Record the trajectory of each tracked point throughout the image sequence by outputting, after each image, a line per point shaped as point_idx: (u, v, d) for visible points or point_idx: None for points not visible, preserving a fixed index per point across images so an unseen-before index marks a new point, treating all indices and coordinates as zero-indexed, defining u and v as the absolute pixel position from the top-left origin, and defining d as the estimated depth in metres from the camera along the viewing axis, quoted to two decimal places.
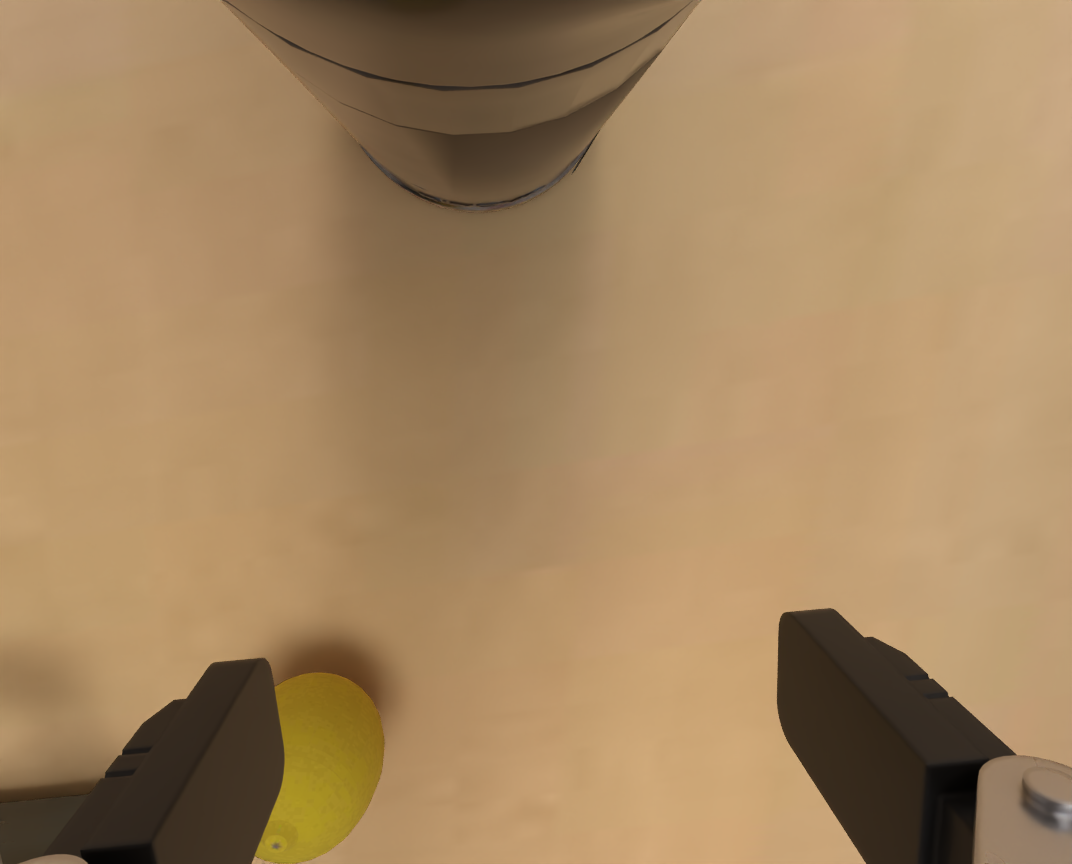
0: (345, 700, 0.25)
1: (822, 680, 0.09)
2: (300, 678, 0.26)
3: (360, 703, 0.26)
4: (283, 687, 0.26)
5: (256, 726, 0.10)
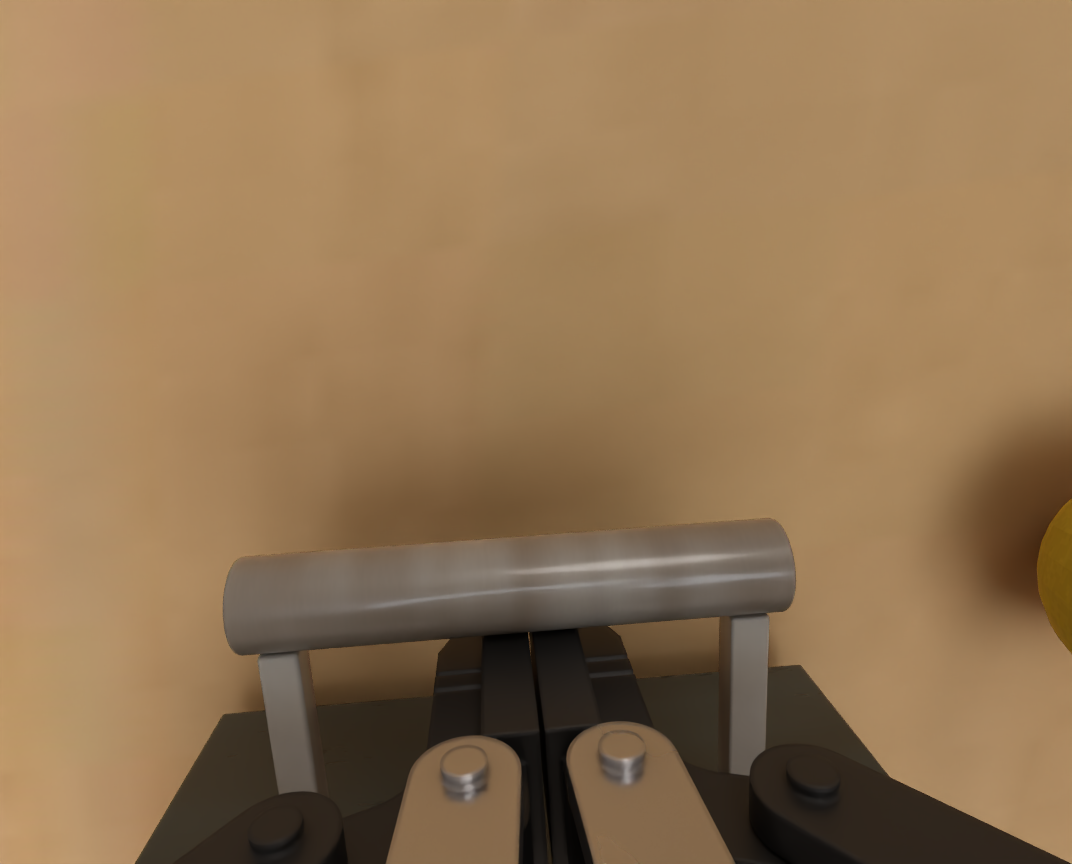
0: None
1: (533, 661, 0.10)
2: None
3: None
4: None
5: None
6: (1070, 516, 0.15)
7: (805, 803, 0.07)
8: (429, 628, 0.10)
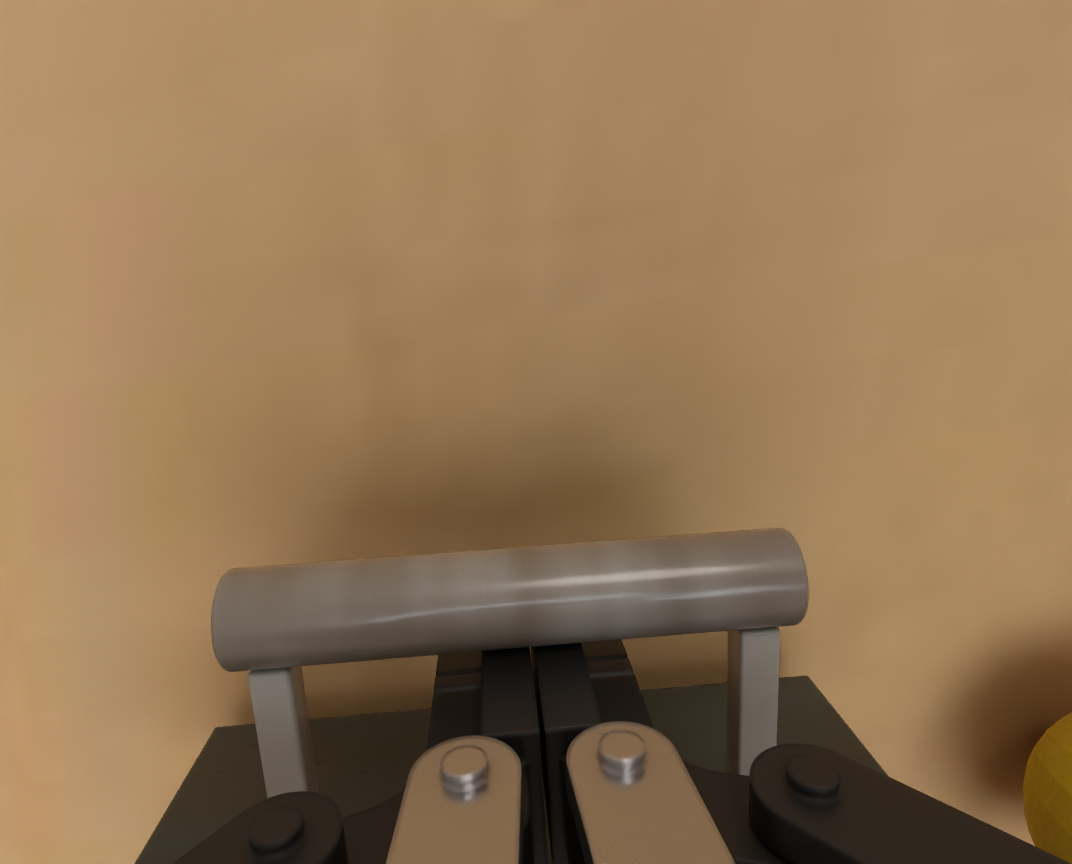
0: None
1: (533, 661, 0.10)
2: None
3: None
4: None
5: None
6: (1053, 754, 0.16)
7: (805, 803, 0.07)
8: (427, 643, 0.09)
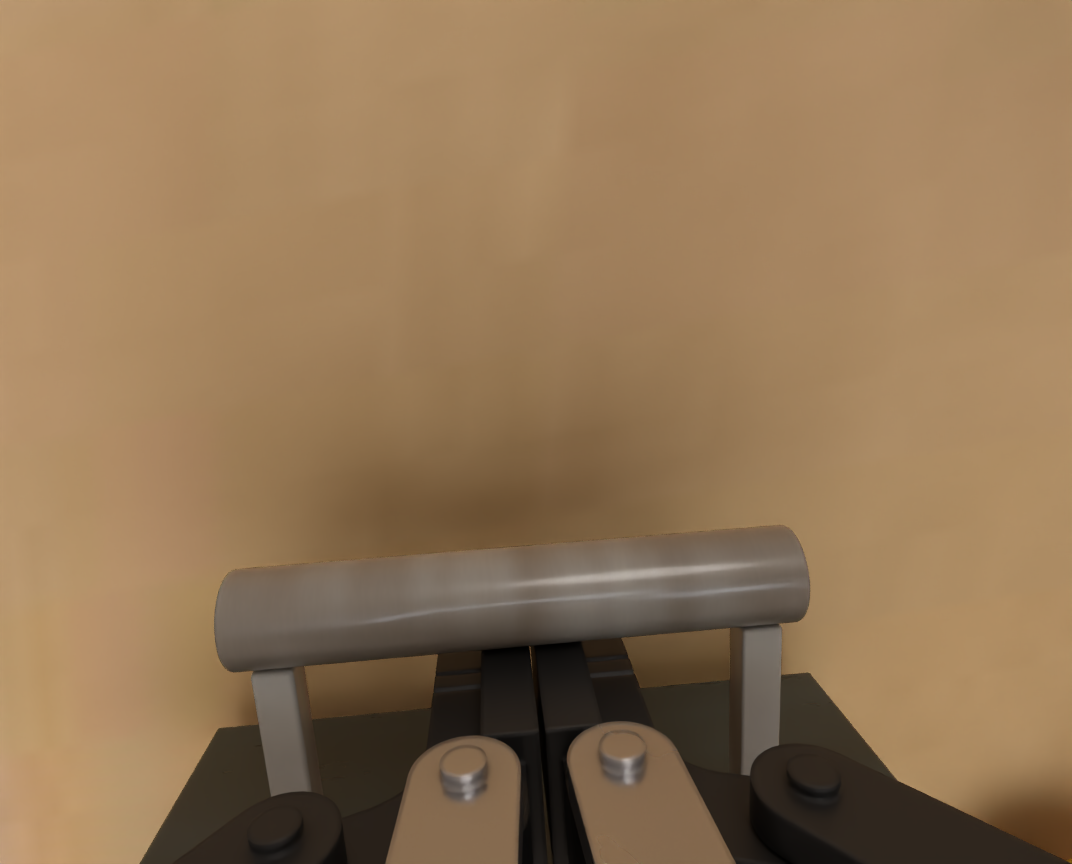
0: None
1: (534, 660, 0.10)
2: None
3: None
4: None
5: None
6: None
7: (806, 803, 0.07)
8: (429, 642, 0.09)
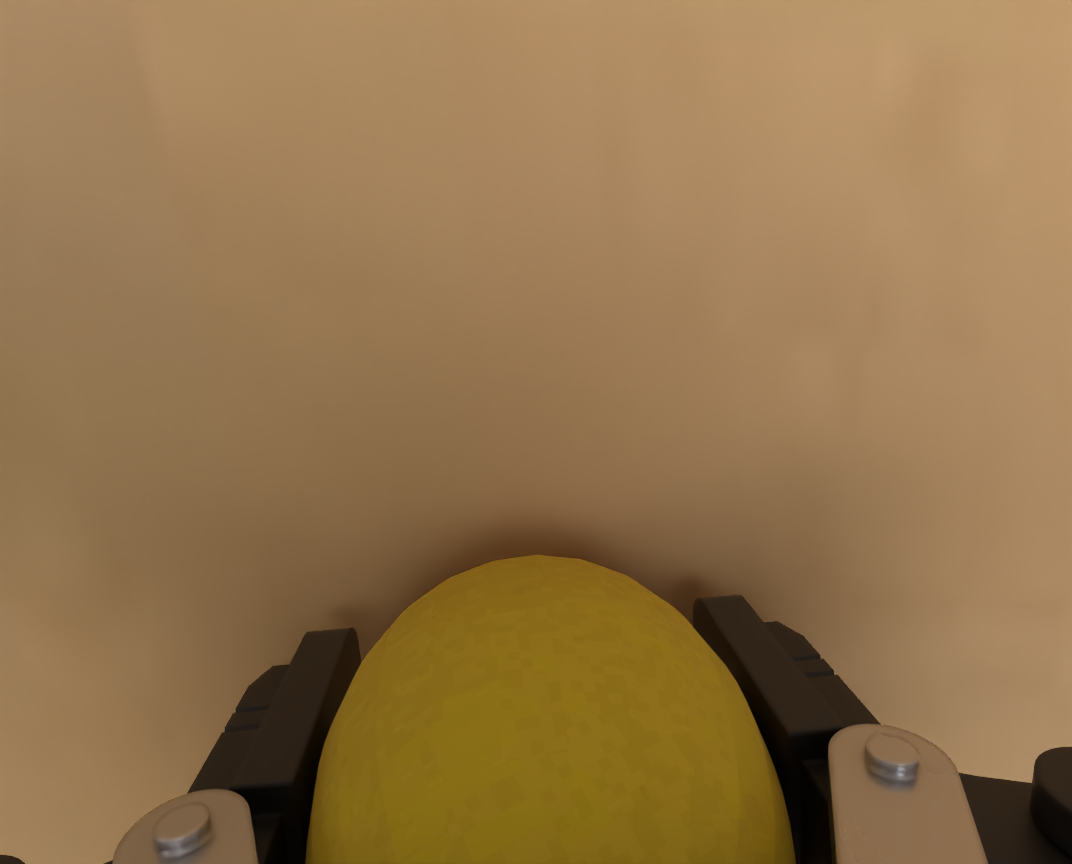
0: (351, 687, 0.08)
1: (722, 661, 0.10)
2: None
3: (385, 637, 0.08)
4: None
5: None
6: None
7: None
8: None
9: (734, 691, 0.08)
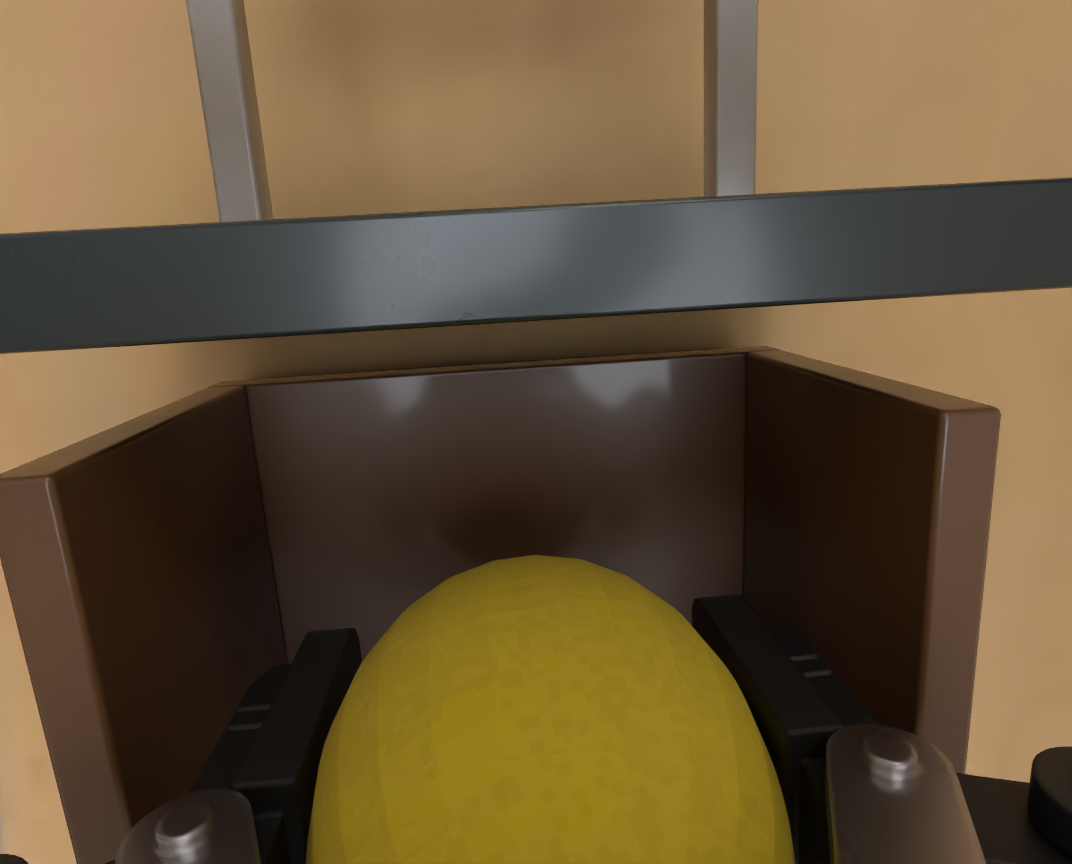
0: (350, 686, 0.08)
1: None
2: None
3: (386, 638, 0.09)
4: None
5: None
6: None
7: None
8: None
9: (734, 691, 0.08)
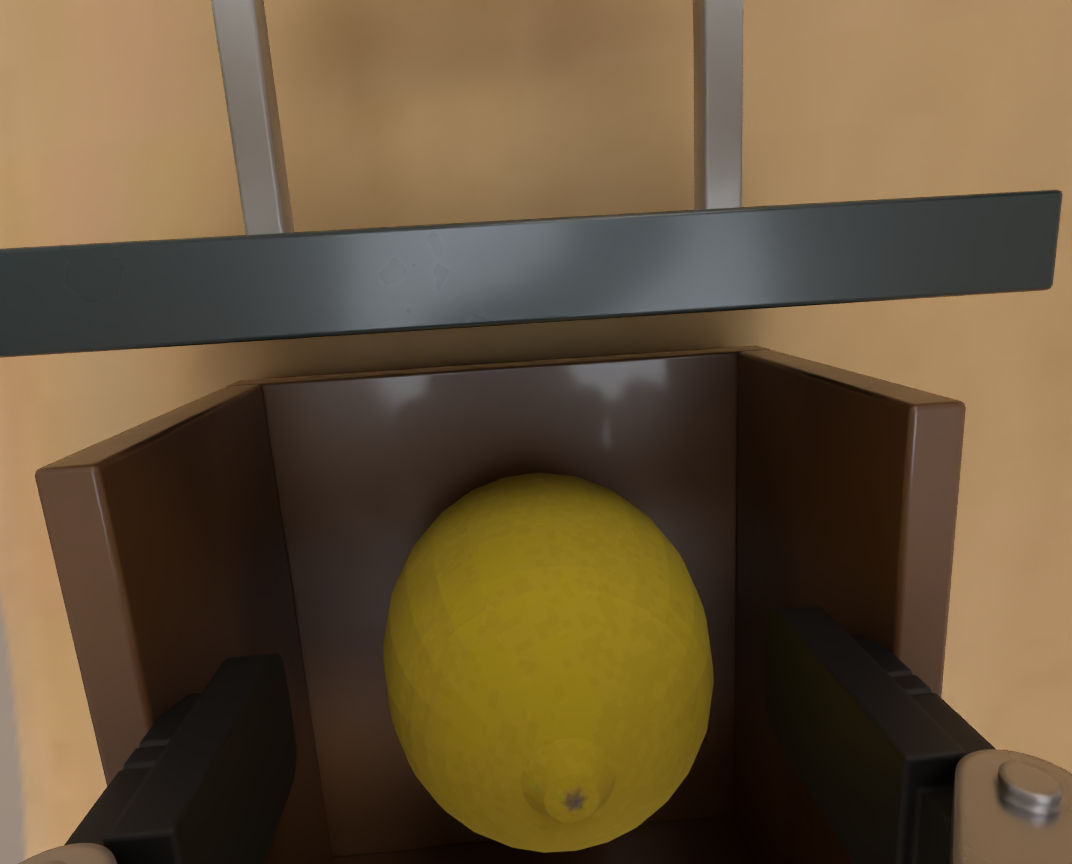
0: (410, 555, 0.12)
1: (808, 676, 0.10)
2: None
3: (433, 524, 0.12)
4: None
5: (270, 719, 0.10)
6: None
7: None
8: None
9: (675, 554, 0.12)
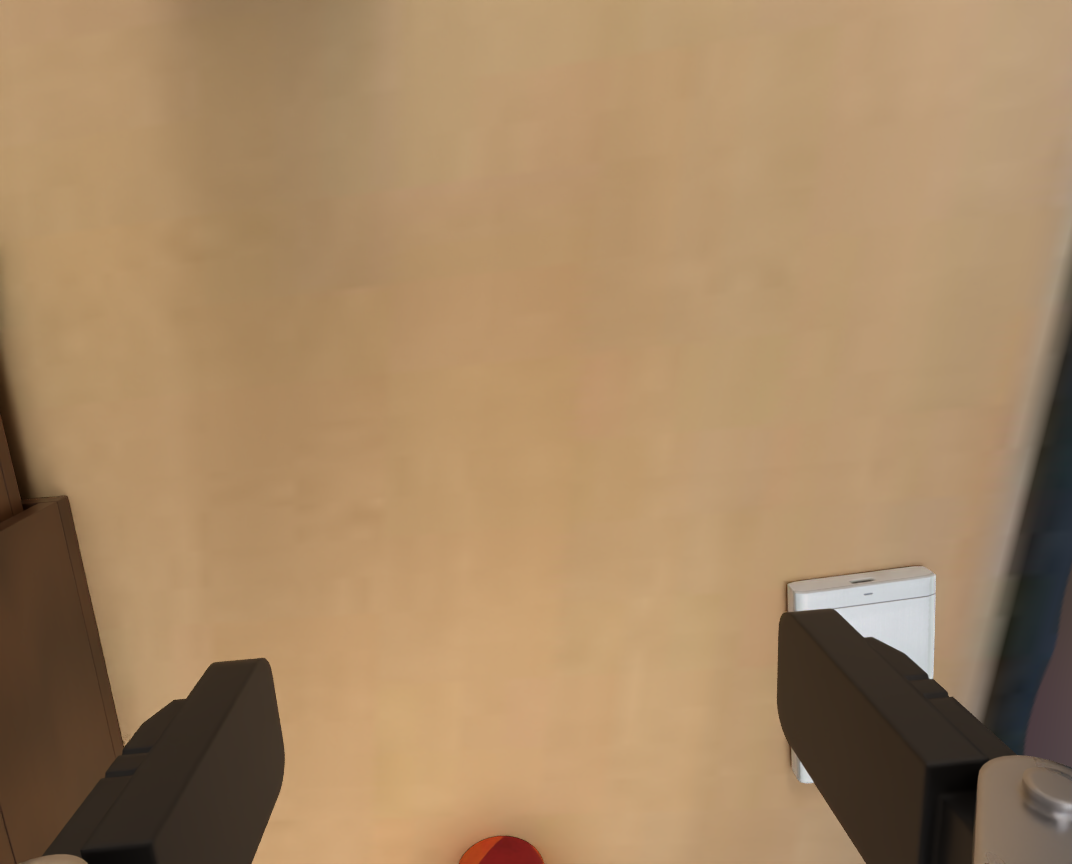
0: None
1: (823, 680, 0.09)
2: None
3: None
4: None
5: (256, 725, 0.10)
6: None
7: None
8: None
9: None
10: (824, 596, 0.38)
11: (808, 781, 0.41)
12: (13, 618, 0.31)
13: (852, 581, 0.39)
